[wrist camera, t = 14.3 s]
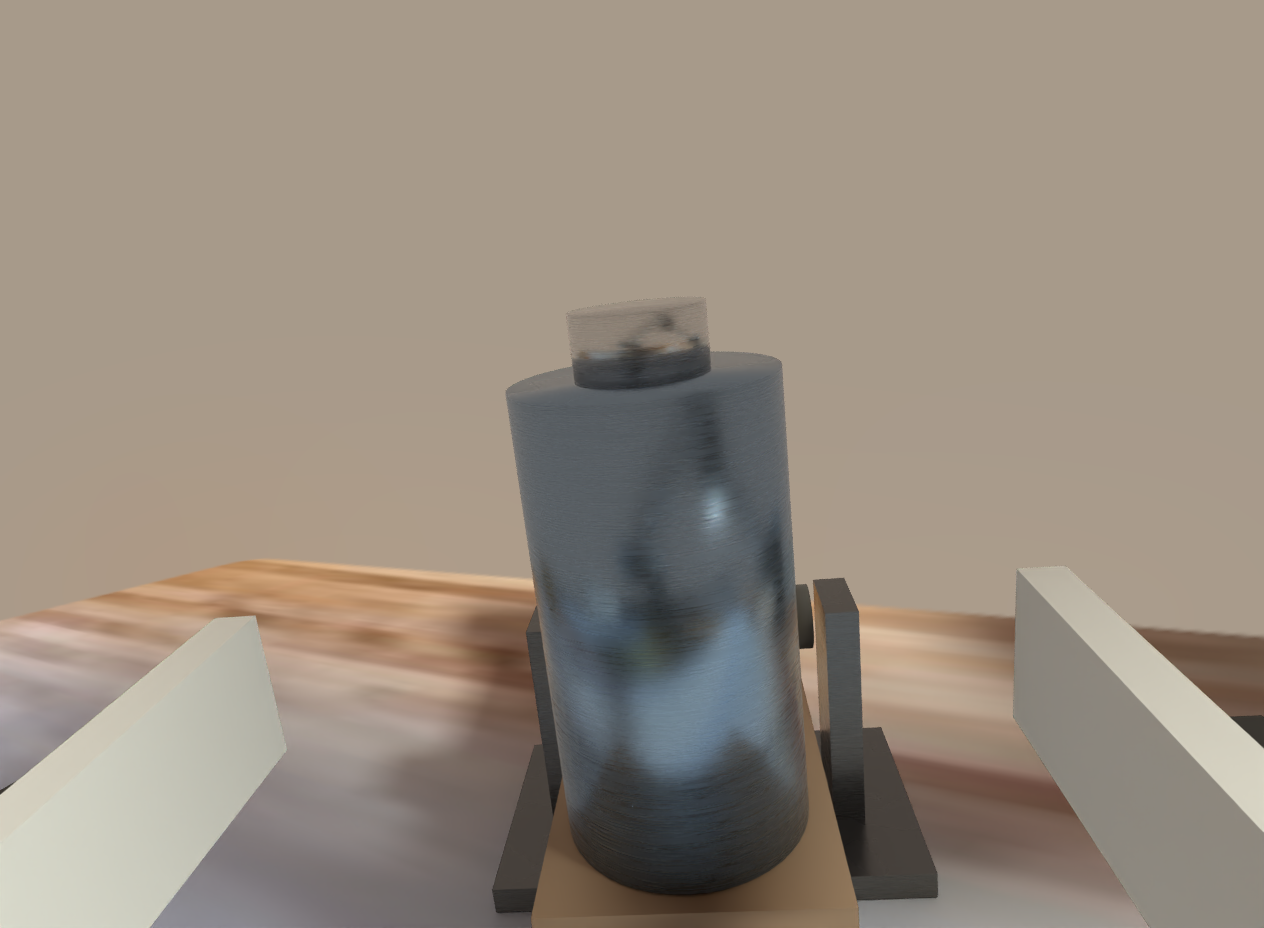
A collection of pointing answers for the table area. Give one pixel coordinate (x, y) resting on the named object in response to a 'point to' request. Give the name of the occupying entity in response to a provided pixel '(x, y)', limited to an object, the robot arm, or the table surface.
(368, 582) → the table surface
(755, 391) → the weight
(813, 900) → the beam
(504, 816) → the table surface
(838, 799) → the stand
